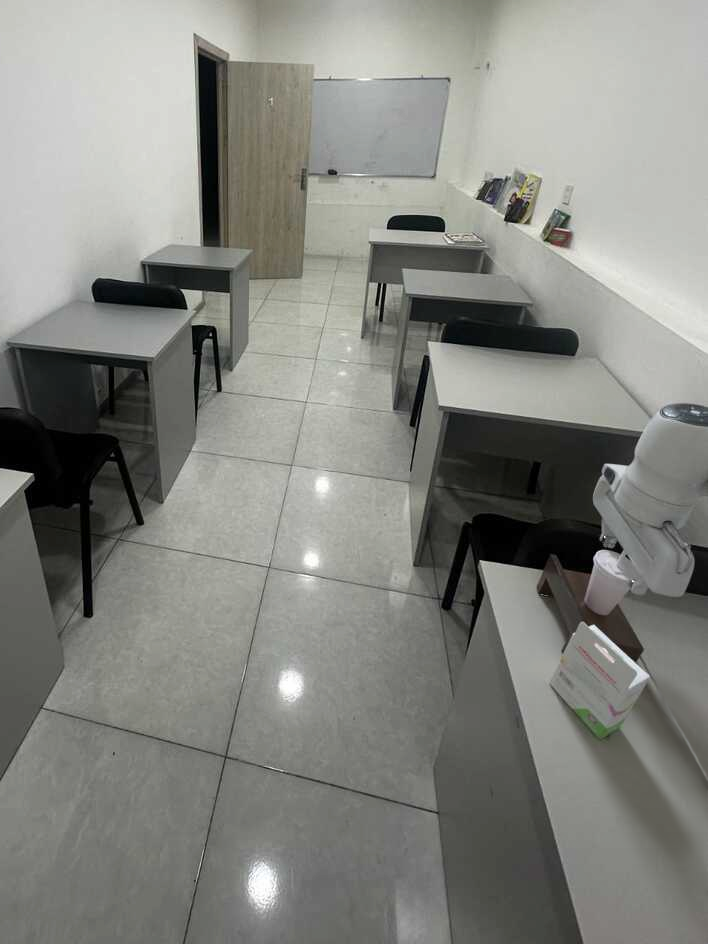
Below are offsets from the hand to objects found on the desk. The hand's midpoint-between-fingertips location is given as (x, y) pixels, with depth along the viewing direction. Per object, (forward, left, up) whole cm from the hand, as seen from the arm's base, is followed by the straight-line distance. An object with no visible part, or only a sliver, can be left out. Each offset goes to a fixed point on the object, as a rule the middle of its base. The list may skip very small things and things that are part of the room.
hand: (619, 566), depth 79 cm
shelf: (+1, 0, -16) cm, 15 cm away
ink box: (+6, +14, -16) cm, 22 cm away
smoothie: (0, 0, -10) cm, 10 cm away
